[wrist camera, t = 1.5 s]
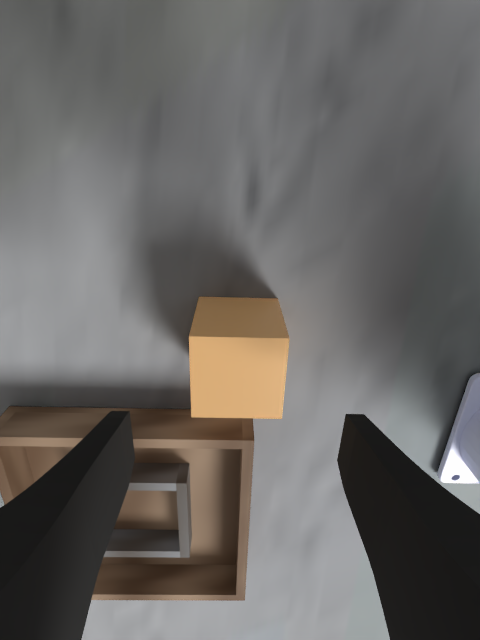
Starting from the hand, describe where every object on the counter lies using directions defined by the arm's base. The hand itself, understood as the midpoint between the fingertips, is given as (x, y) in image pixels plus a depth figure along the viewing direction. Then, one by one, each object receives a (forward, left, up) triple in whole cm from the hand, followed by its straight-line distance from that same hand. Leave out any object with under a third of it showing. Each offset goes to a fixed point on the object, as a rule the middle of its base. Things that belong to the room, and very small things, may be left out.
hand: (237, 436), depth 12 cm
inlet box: (+6, +12, -8) cm, 15 cm away
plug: (0, 0, -8) cm, 8 cm away
